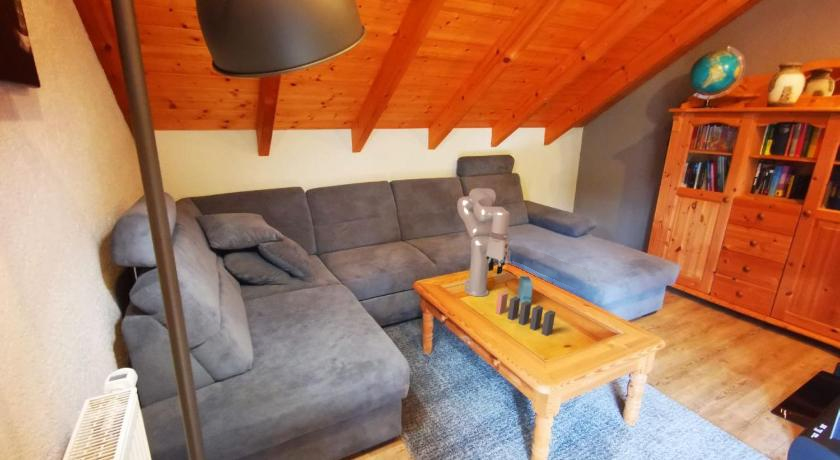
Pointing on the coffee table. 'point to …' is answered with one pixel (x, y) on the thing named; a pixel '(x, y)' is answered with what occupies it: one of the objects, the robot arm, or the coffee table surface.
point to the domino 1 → (501, 303)
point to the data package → (525, 289)
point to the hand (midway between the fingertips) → (494, 271)
